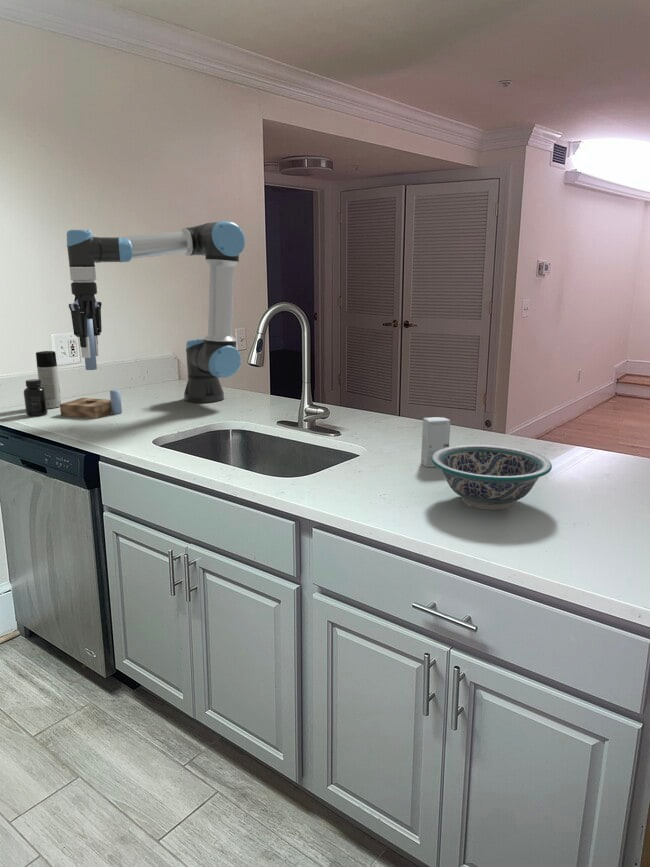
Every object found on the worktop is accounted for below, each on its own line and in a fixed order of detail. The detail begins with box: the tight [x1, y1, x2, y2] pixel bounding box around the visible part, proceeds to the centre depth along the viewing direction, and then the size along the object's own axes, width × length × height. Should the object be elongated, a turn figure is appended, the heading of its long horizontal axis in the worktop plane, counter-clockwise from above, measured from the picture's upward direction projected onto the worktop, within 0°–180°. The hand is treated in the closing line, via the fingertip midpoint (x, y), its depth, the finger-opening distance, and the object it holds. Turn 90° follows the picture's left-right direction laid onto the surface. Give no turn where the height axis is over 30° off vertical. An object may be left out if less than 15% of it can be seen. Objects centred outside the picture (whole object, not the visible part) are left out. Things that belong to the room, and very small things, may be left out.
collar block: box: [59, 397, 112, 419], centre depth 226 cm, size 14×12×4 cm
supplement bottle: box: [23, 378, 49, 417], centre depth 223 cm, size 7×7×12 cm
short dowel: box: [109, 389, 123, 415], centre depth 225 cm, size 3×3×8 cm
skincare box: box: [420, 416, 451, 468], centre depth 167 cm, size 6×4×12 cm
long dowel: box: [84, 319, 98, 371], centre depth 208 cm, size 3×3×16 cm
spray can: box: [35, 350, 62, 409], centre depth 234 cm, size 7×7×20 cm
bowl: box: [431, 443, 553, 511], centre depth 141 cm, size 25×25×10 cm
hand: (90, 356), depth 209 cm, fingers closed on long dowel, 3 cm apart
